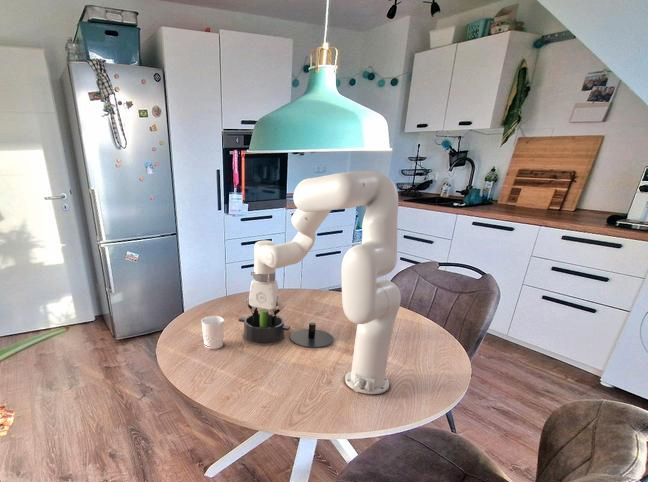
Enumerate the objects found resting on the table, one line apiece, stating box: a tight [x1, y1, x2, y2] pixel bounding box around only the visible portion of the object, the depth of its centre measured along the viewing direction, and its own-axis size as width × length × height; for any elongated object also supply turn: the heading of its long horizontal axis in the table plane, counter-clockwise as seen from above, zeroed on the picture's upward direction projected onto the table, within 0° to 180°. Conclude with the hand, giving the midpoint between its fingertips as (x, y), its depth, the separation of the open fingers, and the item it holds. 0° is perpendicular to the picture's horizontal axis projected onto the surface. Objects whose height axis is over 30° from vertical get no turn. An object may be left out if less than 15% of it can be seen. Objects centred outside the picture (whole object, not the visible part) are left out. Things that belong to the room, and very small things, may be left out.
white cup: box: [200, 315, 225, 350], centre depth 137 cm, size 8×8×10 cm
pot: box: [238, 313, 291, 345], centre depth 145 cm, size 15×20×6 cm
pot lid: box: [289, 321, 334, 349], centre depth 141 cm, size 16×16×7 cm
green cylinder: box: [259, 308, 270, 328], centre depth 144 cm, size 3×3×10 cm
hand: (263, 322), depth 144 cm, fingers open, 6 cm apart
